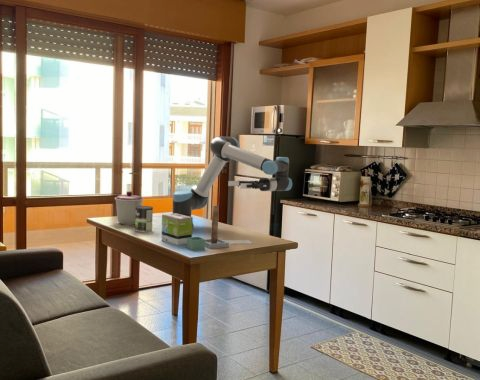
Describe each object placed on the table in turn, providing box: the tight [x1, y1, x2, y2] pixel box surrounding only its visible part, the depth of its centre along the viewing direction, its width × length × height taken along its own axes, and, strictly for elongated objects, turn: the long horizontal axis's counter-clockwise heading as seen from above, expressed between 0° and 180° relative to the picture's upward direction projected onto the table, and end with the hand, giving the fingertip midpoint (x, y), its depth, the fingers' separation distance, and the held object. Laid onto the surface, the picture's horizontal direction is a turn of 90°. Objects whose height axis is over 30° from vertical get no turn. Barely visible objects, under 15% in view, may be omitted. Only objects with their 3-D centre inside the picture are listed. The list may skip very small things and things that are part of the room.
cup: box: [185, 236, 206, 251], centre depth 239 cm, size 7×7×6 cm
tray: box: [204, 237, 230, 249], centre depth 248 cm, size 12×11×3 cm
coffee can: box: [134, 205, 154, 233], centre depth 281 cm, size 10×10×14 cm
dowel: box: [210, 204, 220, 244], centre depth 247 cm, size 3×3×20 cm
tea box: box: [161, 213, 194, 246], centre depth 252 cm, size 15×10×15 cm, turn 45°
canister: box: [114, 190, 145, 226], centre depth 301 cm, size 18×18×21 cm
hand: (234, 184), depth 256 cm, fingers open, 13 cm apart
